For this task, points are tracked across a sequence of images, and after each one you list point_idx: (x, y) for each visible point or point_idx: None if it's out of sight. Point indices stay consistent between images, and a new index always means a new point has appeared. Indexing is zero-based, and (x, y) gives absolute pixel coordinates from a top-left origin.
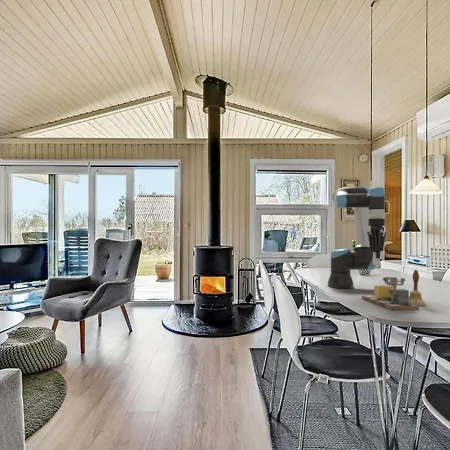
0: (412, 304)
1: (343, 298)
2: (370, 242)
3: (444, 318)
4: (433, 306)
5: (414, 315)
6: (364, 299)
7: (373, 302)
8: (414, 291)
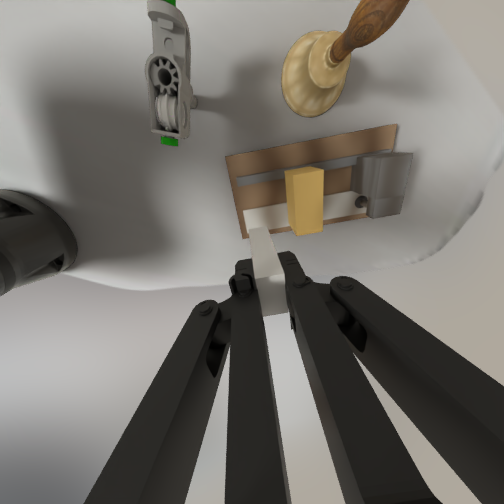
0: (373, 133)
1: None
2: (202, 431)
3: (494, 107)
4: None
5: (434, 179)
6: None
7: None
8: (338, 69)
